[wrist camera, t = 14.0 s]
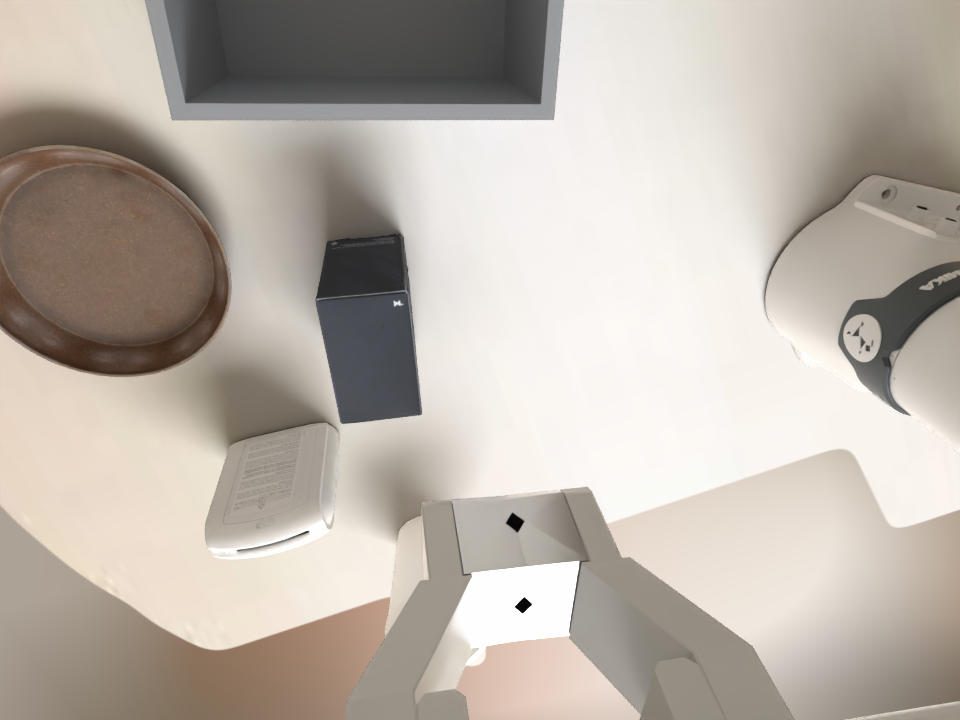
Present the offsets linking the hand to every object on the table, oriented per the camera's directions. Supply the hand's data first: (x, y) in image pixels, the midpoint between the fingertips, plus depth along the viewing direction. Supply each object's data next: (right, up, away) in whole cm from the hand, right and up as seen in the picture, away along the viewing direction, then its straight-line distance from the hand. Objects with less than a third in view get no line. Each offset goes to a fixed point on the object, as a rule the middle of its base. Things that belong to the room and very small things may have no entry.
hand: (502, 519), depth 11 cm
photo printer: (-19, -5, +46) cm, 50 cm away
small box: (-9, +8, +40) cm, 42 cm away
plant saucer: (-28, +11, +35) cm, 46 cm away
